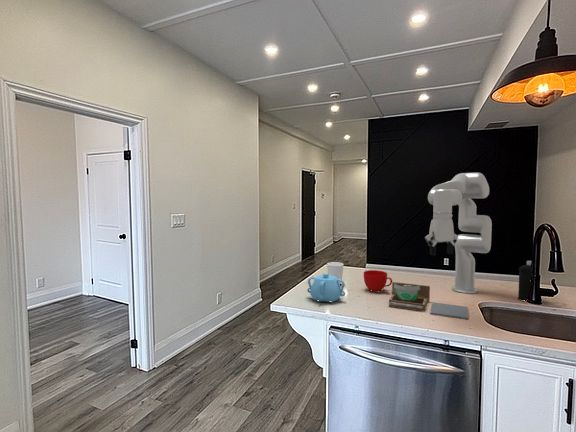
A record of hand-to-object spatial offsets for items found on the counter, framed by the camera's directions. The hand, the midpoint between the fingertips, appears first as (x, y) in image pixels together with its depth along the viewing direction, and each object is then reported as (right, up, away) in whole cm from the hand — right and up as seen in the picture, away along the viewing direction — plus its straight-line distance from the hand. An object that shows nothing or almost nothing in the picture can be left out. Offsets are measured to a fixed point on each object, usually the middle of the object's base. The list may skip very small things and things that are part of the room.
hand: (441, 254), depth 146 cm
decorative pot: (-50, -26, +21) cm, 60 cm away
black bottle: (+52, -26, +18) cm, 61 cm away
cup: (-41, -24, +49) cm, 68 cm away
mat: (+5, -27, +3) cm, 27 cm away
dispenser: (-10, -26, +13) cm, 31 cm away
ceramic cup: (-19, -25, +35) cm, 47 cm away
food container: (-11, -26, +11) cm, 31 cm away
